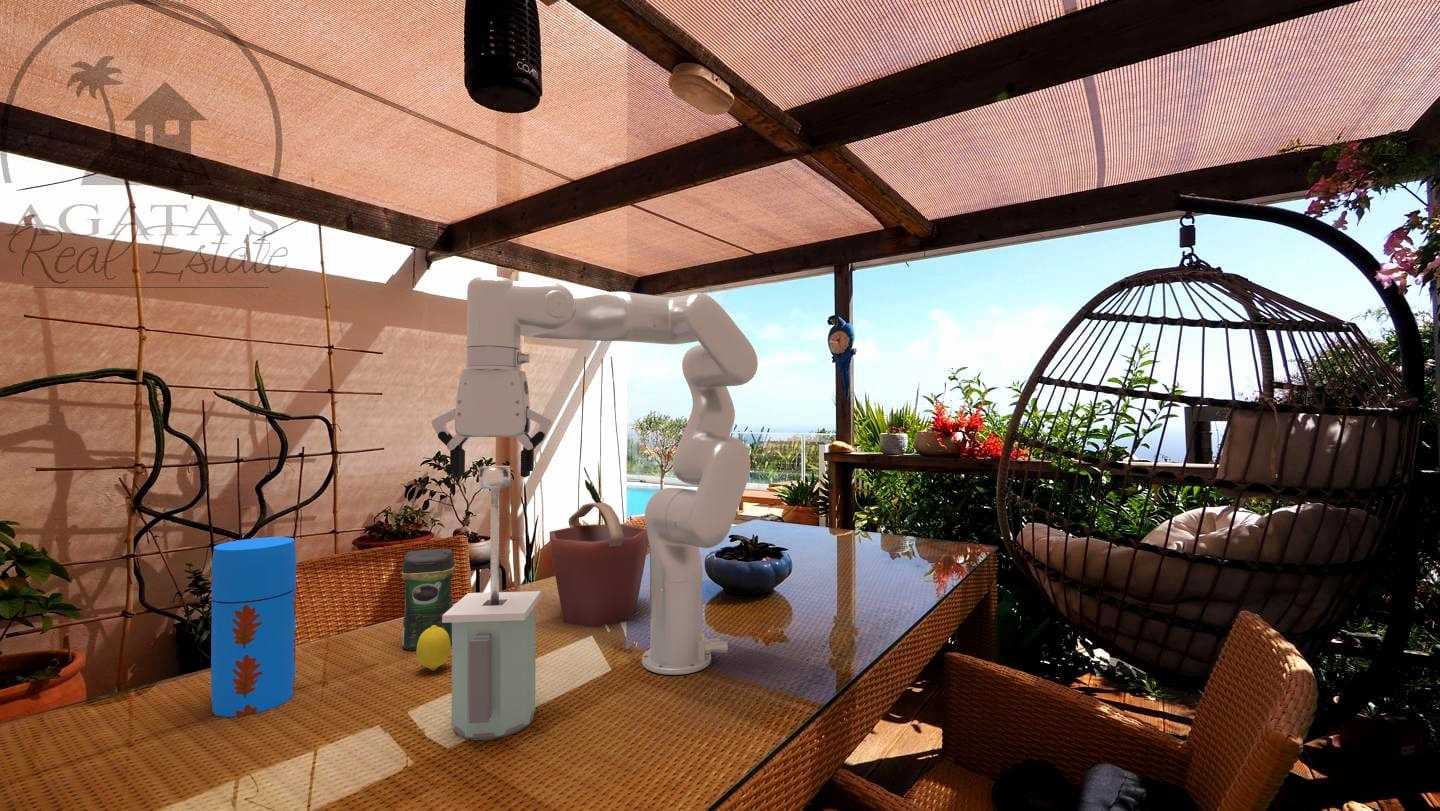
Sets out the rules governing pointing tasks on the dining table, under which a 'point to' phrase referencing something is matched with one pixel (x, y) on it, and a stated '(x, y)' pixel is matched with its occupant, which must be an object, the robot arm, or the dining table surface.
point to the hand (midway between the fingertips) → (492, 476)
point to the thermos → (253, 625)
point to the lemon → (433, 647)
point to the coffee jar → (426, 592)
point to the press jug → (493, 664)
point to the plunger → (494, 517)
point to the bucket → (598, 568)
